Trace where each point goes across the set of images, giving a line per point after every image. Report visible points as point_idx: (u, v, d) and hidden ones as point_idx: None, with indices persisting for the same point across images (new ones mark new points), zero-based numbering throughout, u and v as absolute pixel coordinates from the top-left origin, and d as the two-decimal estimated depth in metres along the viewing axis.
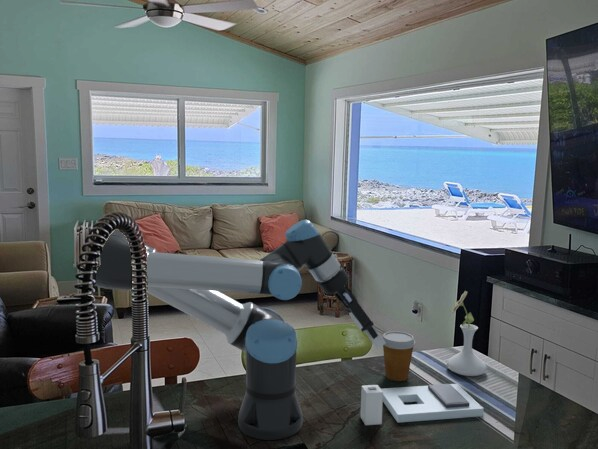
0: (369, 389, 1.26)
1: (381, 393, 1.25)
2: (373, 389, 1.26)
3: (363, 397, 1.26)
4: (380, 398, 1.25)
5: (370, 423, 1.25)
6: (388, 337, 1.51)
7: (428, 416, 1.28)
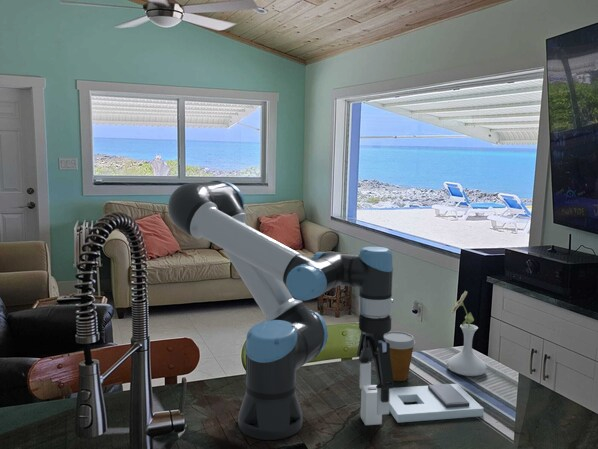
0: (369, 389, 1.26)
1: None
2: (373, 389, 1.26)
3: (363, 397, 1.26)
4: None
5: (370, 423, 1.25)
6: (388, 337, 1.51)
7: (428, 416, 1.28)
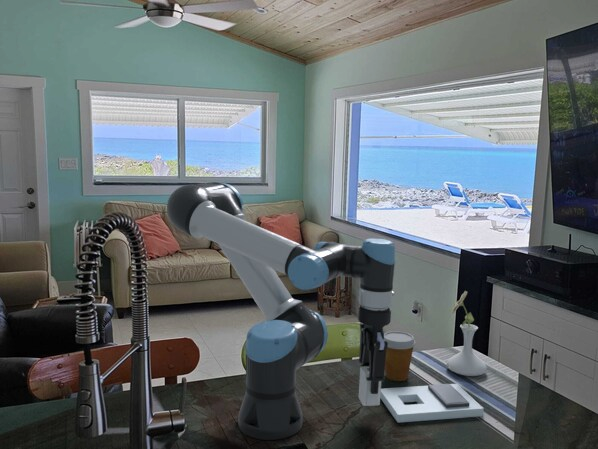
0: (368, 370, 1.26)
1: None
2: None
3: (362, 378, 1.26)
4: None
5: None
6: (388, 337, 1.51)
7: (428, 416, 1.28)
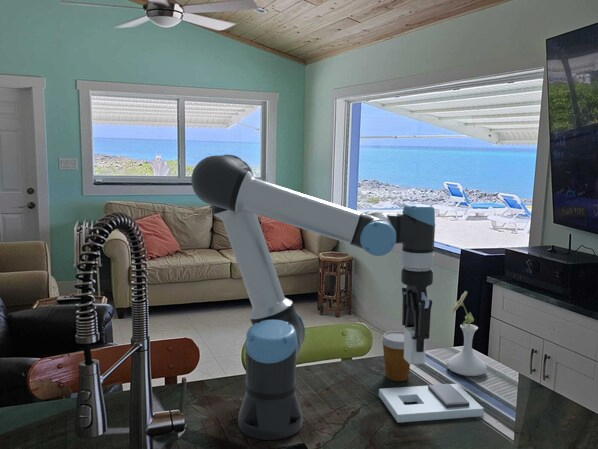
0: (412, 330, 1.31)
1: None
2: None
3: (407, 338, 1.32)
4: None
5: None
6: (388, 337, 1.51)
7: (428, 416, 1.28)
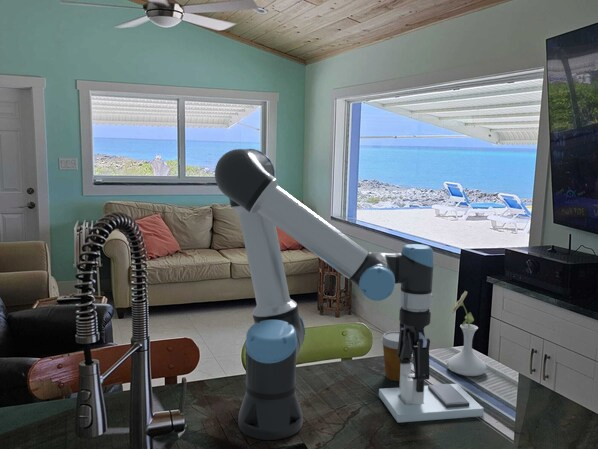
0: (409, 377, 1.33)
1: None
2: None
3: (404, 385, 1.33)
4: None
5: None
6: (388, 337, 1.51)
7: (428, 416, 1.28)
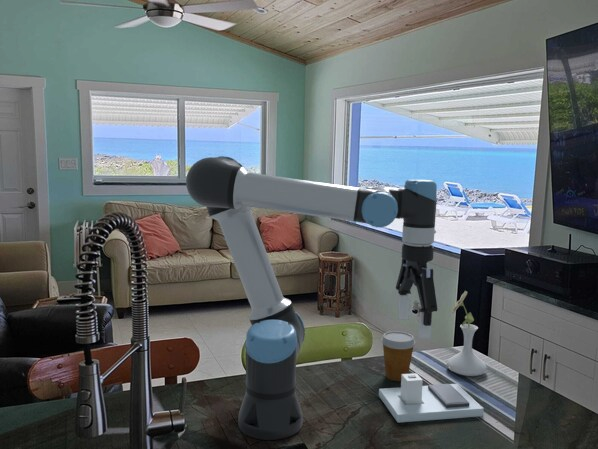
0: (409, 377, 1.33)
1: (421, 381, 1.32)
2: (413, 377, 1.33)
3: (404, 385, 1.33)
4: (420, 386, 1.32)
5: None
6: (388, 337, 1.51)
7: (428, 416, 1.28)
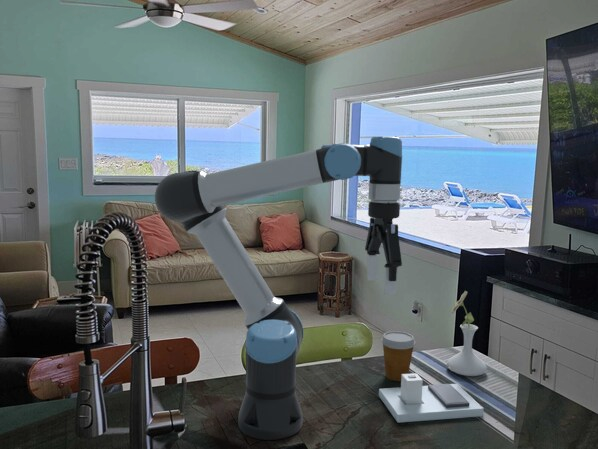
0: (409, 377, 1.33)
1: (421, 381, 1.32)
2: (413, 377, 1.33)
3: (404, 385, 1.33)
4: (420, 386, 1.32)
5: None
6: (388, 337, 1.51)
7: (428, 416, 1.28)
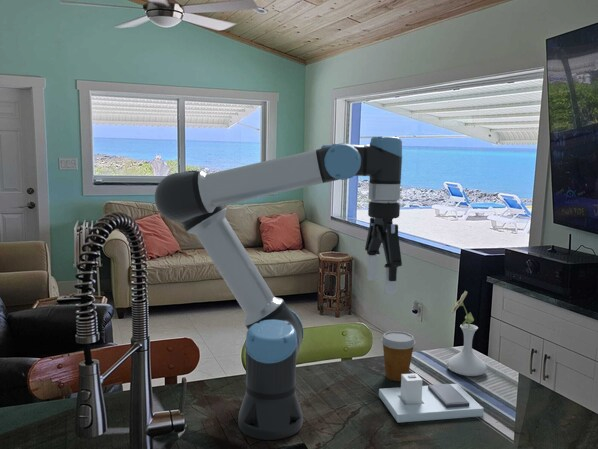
0: (409, 377, 1.33)
1: (421, 381, 1.32)
2: (413, 377, 1.33)
3: (404, 385, 1.33)
4: (420, 386, 1.32)
5: None
6: (388, 337, 1.51)
7: (428, 416, 1.28)
